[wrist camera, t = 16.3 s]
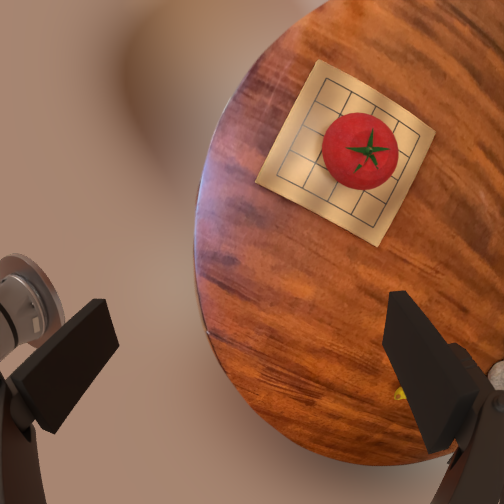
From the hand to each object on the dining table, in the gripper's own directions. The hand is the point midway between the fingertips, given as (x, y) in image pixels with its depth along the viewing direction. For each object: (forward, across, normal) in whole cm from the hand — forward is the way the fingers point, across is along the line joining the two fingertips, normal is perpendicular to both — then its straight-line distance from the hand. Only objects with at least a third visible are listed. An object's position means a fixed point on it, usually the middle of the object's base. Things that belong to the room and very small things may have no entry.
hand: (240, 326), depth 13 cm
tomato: (+26, +11, +8) cm, 29 cm away
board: (+27, +11, +7) cm, 30 cm away
